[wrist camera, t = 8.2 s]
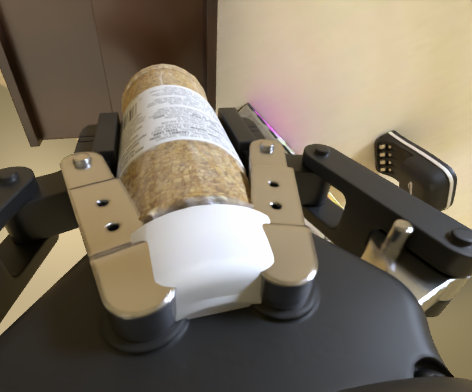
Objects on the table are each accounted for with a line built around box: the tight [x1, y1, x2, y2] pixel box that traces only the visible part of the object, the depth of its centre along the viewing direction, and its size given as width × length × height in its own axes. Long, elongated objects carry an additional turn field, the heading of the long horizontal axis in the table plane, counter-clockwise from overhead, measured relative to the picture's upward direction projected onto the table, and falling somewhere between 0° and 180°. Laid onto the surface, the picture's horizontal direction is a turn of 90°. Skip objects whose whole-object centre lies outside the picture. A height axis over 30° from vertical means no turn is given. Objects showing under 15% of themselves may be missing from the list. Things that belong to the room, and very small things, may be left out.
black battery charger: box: [375, 131, 457, 211], centre depth 40 cm, size 7×4×11 cm, turn 21°
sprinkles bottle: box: [116, 64, 274, 321], centre depth 11 cm, size 5×5×13 cm
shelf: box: [0, 0, 218, 147], centre depth 24 cm, size 14×15×10 cm
